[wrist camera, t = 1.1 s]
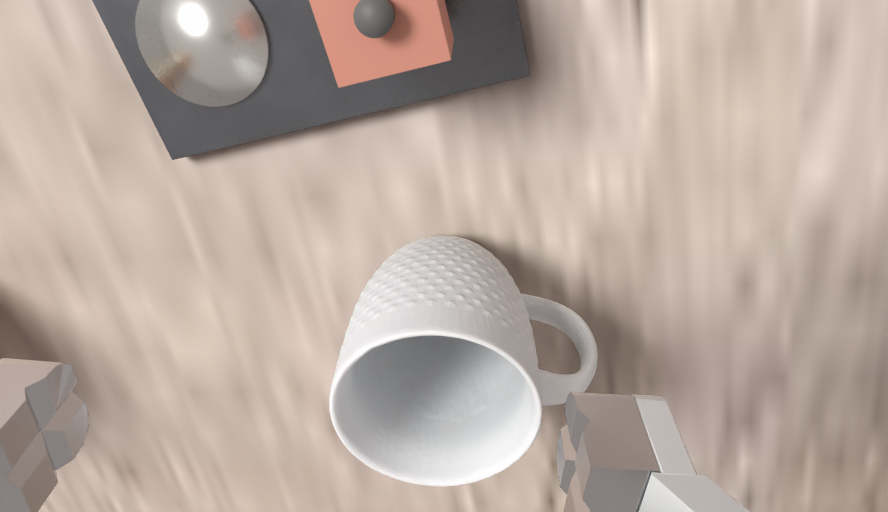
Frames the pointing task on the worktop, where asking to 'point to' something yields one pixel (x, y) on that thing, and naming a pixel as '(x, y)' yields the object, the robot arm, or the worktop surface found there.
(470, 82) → the base
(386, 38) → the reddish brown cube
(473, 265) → the mug
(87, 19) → the worktop surface
